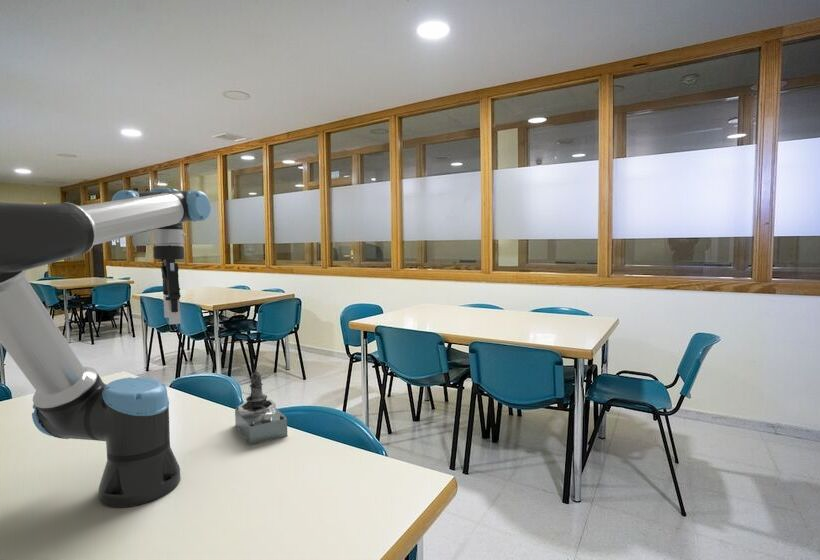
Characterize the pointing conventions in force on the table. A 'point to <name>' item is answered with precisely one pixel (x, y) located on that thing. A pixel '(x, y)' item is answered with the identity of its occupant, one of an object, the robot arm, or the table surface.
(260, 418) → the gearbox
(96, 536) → the table surface
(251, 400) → the dark grey tapered piece
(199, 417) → the table surface
